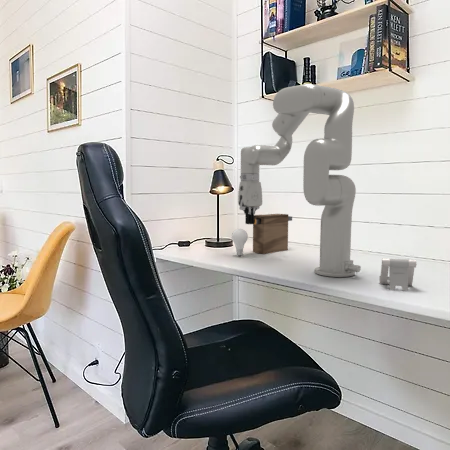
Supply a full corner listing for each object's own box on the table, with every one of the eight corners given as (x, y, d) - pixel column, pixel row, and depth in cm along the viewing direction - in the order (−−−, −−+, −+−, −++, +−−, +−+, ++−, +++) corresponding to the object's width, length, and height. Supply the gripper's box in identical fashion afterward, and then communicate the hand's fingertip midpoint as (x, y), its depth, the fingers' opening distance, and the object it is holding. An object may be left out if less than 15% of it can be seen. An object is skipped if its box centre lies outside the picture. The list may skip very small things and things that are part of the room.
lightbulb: (228, 255, 172) (228, 228, 170) (240, 254, 175) (240, 227, 174) (238, 258, 166) (238, 230, 165) (250, 256, 170) (251, 228, 169)
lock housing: (287, 249, 187) (288, 214, 186) (263, 254, 176) (263, 216, 175) (277, 248, 192) (277, 213, 190) (252, 252, 181) (253, 215, 179)
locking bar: (292, 220, 191) (292, 216, 191) (254, 224, 174) (255, 219, 174) (287, 220, 193) (287, 216, 192) (250, 223, 176) (250, 219, 176)
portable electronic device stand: (411, 285, 123) (412, 256, 122) (415, 291, 116) (417, 261, 115) (379, 283, 125) (380, 255, 125) (382, 289, 118) (383, 259, 117)
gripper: (243, 178, 164) (243, 225, 166) (269, 178, 174) (268, 223, 176) (230, 178, 169) (229, 224, 171) (255, 178, 180) (255, 222, 181)
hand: (249, 223), depth 174 cm, fingers closed
